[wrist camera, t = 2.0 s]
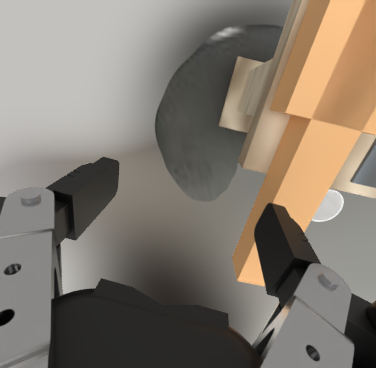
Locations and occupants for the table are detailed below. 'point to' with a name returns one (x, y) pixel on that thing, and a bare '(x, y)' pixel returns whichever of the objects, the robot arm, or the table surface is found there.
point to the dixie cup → (329, 206)
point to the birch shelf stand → (276, 122)
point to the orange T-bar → (317, 115)
